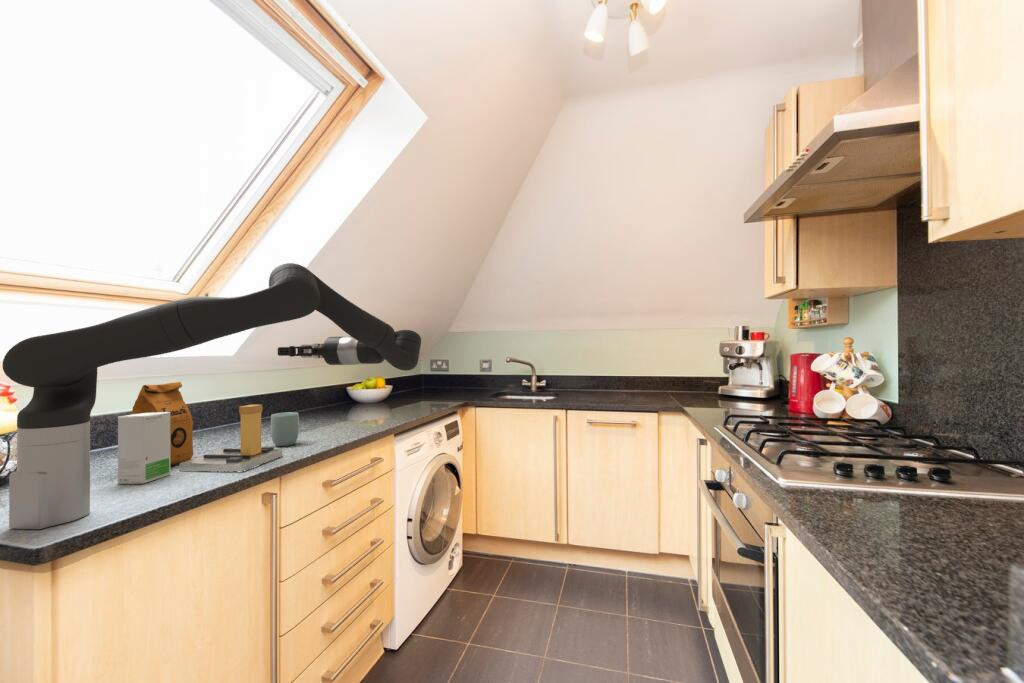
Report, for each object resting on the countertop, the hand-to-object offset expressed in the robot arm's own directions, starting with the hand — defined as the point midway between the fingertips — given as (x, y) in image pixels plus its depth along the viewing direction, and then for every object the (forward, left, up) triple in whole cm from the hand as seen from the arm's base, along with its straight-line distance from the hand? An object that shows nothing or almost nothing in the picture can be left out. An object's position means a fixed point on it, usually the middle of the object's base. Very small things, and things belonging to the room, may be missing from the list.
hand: (288, 351), depth 117 cm
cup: (+21, +15, -30) cm, 40 cm away
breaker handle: (0, +11, -28) cm, 30 cm away
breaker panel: (-1, +15, -30) cm, 34 cm away
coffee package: (-4, +33, -30) cm, 45 cm away
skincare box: (-16, +26, -30) cm, 43 cm away
